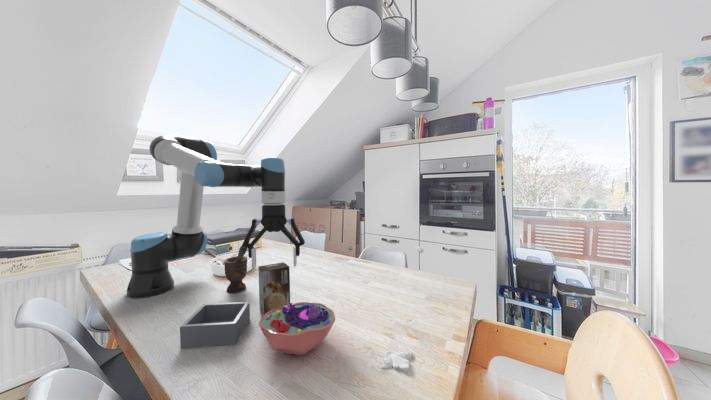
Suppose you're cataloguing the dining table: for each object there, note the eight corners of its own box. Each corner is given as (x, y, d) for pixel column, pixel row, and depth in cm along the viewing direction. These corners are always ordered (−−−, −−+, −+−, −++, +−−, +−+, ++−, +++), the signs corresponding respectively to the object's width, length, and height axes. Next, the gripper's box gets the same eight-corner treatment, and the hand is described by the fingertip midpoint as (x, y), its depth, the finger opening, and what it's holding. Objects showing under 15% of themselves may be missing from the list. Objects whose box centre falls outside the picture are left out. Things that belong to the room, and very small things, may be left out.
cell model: (269, 329, 76) (268, 293, 75) (335, 327, 77) (335, 291, 76) (249, 370, 59) (248, 324, 58) (334, 366, 60) (335, 321, 60)
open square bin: (180, 348, 67) (179, 326, 66) (203, 322, 79) (203, 304, 79) (235, 344, 68) (235, 323, 68) (249, 319, 81) (249, 301, 81)
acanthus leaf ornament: (412, 357, 65) (412, 350, 65) (412, 376, 58) (413, 368, 58) (383, 352, 66) (383, 345, 66) (380, 371, 60) (380, 363, 60)
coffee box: (285, 304, 92) (284, 261, 91) (290, 312, 86) (290, 266, 86) (258, 311, 87) (258, 265, 86) (263, 319, 81) (262, 271, 80)
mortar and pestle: (258, 288, 107) (257, 241, 106) (243, 296, 98) (242, 246, 97) (235, 284, 110) (235, 239, 109) (220, 292, 102) (218, 244, 101)
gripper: (230, 205, 79) (232, 271, 80) (310, 204, 82) (311, 267, 83) (238, 203, 87) (240, 264, 88) (311, 203, 90) (312, 261, 91)
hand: (274, 266), depth 86 cm, fingers open, 13 cm apart
